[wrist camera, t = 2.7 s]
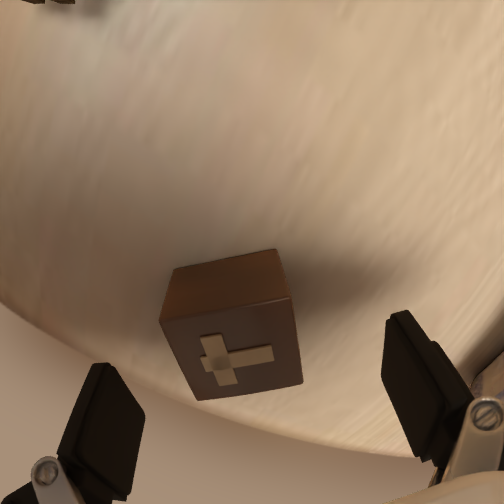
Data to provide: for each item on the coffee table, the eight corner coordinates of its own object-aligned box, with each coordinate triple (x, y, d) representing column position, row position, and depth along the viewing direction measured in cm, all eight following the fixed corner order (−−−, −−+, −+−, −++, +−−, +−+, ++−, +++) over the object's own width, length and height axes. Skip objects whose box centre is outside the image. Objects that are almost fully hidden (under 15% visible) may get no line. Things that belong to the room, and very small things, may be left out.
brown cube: (201, 345, 14) (196, 403, 11) (172, 268, 13) (156, 322, 9) (290, 329, 14) (304, 386, 11) (276, 247, 12) (292, 298, 9)
